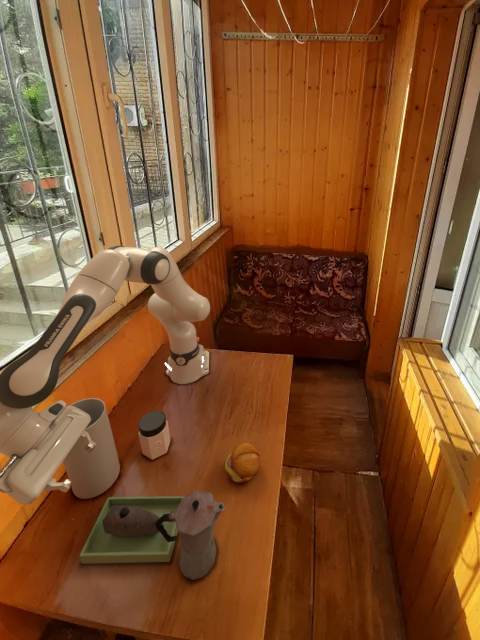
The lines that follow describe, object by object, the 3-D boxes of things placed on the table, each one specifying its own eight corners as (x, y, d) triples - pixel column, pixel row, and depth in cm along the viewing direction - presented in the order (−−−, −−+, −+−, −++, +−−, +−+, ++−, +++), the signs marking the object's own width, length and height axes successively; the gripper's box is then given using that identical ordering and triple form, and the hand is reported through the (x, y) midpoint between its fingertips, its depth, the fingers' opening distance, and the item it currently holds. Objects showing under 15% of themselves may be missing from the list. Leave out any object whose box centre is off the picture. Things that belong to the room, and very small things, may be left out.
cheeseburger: (240, 447, 104) (244, 428, 100) (264, 470, 100) (270, 452, 95) (217, 470, 97) (221, 452, 92) (242, 497, 92) (247, 479, 87)
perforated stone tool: (169, 522, 83) (166, 505, 81) (160, 546, 78) (156, 528, 76) (116, 516, 84) (111, 499, 82) (103, 539, 79) (98, 522, 77)
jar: (144, 464, 99) (139, 436, 95) (140, 444, 105) (134, 417, 101) (173, 450, 103) (169, 423, 99) (167, 432, 110) (163, 406, 106)
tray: (110, 504, 88) (108, 496, 87) (185, 503, 88) (184, 495, 87) (81, 563, 75) (79, 555, 74) (169, 562, 76) (168, 554, 75)
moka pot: (230, 571, 74) (225, 517, 67) (161, 596, 70) (149, 540, 63) (226, 526, 83) (221, 474, 76) (164, 546, 79) (154, 493, 72)
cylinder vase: (123, 453, 102) (109, 394, 93) (116, 492, 91) (100, 428, 82) (79, 465, 98) (61, 404, 90) (67, 506, 87) (44, 441, 78)
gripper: (-5, 476, 59) (59, 509, 63) (65, 394, 78) (111, 423, 82) (-21, 492, 61) (43, 523, 64) (52, 408, 80) (98, 436, 83)
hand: (82, 466), depth 73 cm, fingers open, 8 cm apart
